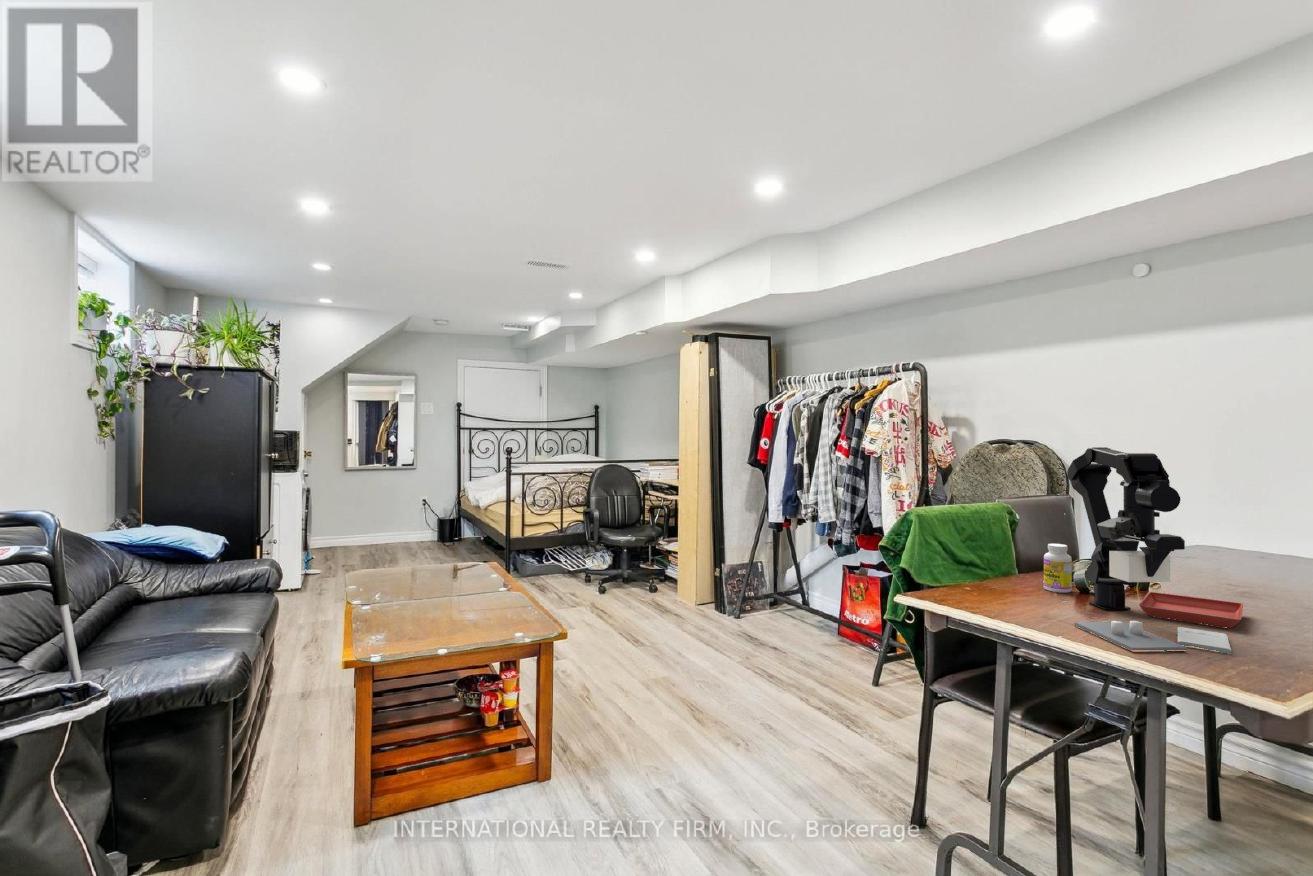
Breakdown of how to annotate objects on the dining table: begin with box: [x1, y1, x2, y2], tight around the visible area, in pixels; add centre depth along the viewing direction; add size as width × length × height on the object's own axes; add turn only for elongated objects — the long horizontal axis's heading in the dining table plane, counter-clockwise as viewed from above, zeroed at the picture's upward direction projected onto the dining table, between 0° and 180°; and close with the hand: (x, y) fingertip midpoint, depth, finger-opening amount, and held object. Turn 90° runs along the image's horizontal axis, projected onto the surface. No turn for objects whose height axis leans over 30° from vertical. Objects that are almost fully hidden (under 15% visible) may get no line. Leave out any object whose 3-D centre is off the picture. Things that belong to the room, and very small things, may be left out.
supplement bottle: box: [1043, 543, 1073, 594], centre depth 174 cm, size 7×7×13 cm
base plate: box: [1074, 620, 1187, 651], centre depth 133 cm, size 17×11×4 cm, turn 0°
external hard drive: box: [1176, 626, 1232, 655], centre depth 130 cm, size 2×8×12 cm
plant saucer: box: [1138, 591, 1244, 629], centre depth 149 cm, size 18×18×3 cm
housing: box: [1109, 550, 1171, 583], centre depth 144 cm, size 10×6×6 cm, turn 90°
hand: (1139, 573), depth 144 cm, fingers closed on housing, 6 cm apart
